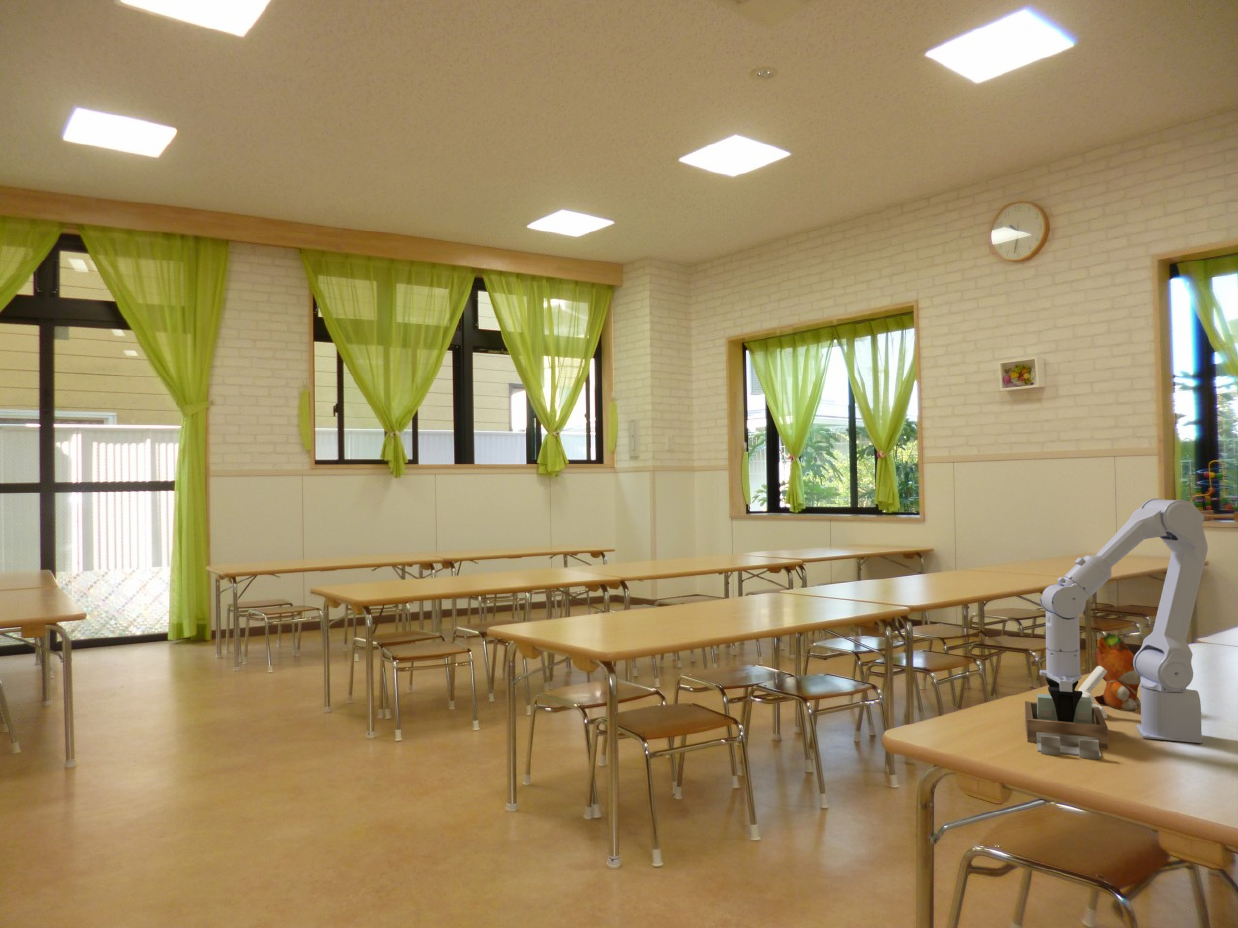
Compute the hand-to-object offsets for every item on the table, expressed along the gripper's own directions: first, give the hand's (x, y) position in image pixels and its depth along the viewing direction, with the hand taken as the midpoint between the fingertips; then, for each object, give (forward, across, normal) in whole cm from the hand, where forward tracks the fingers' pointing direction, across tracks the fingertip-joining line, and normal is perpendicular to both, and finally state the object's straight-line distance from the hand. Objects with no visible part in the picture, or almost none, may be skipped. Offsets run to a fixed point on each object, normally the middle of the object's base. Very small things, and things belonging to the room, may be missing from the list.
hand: (1064, 721), depth 166 cm
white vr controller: (+3, -17, +5) cm, 18 cm away
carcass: (+2, +3, 0) cm, 4 cm away
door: (+2, 0, 0) cm, 2 cm away
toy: (+3, -27, +12) cm, 30 cm away
